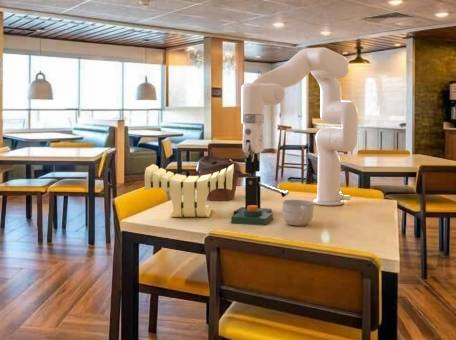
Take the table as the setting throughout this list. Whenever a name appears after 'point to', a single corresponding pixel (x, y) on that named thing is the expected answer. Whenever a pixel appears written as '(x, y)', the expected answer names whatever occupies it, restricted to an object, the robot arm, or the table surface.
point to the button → (252, 208)
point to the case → (217, 164)
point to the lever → (273, 189)
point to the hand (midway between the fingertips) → (252, 171)
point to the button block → (252, 217)
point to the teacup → (298, 212)
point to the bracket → (252, 194)
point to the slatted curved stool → (188, 189)
